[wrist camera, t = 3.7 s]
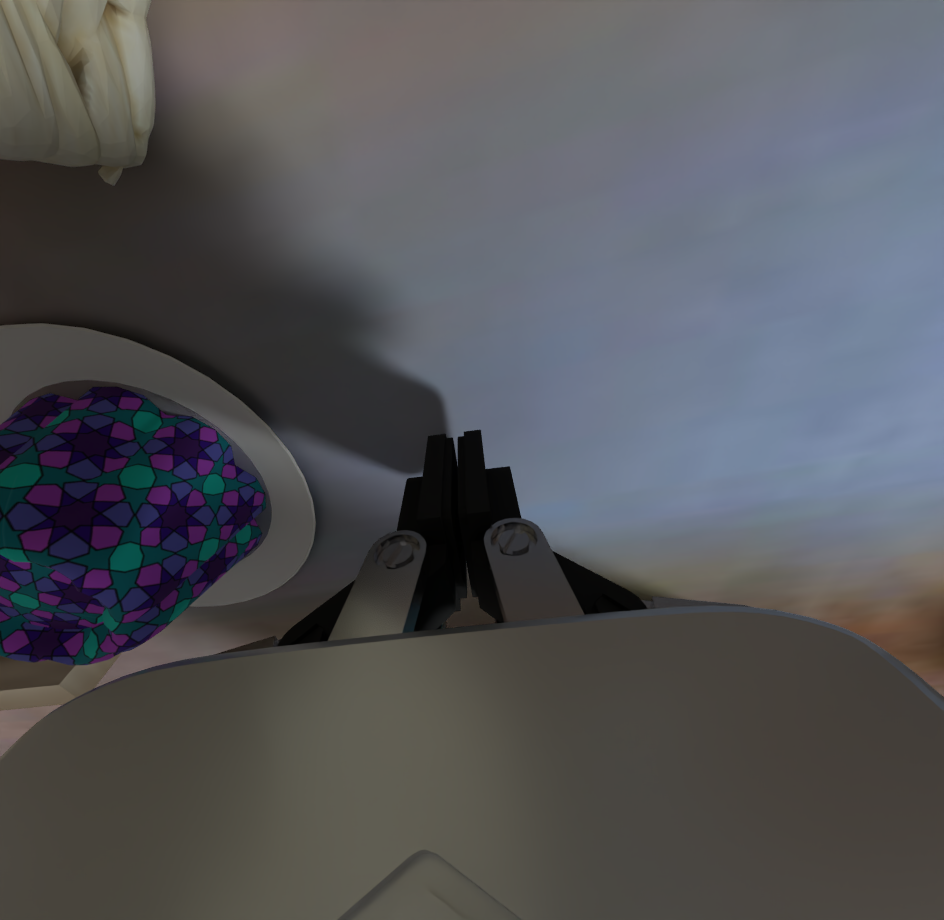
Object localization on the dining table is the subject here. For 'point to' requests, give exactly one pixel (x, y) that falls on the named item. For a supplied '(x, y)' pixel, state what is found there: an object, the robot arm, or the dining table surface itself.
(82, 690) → the display stand
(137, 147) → the storage basket
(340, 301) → the dining table surface
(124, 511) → the pudding
